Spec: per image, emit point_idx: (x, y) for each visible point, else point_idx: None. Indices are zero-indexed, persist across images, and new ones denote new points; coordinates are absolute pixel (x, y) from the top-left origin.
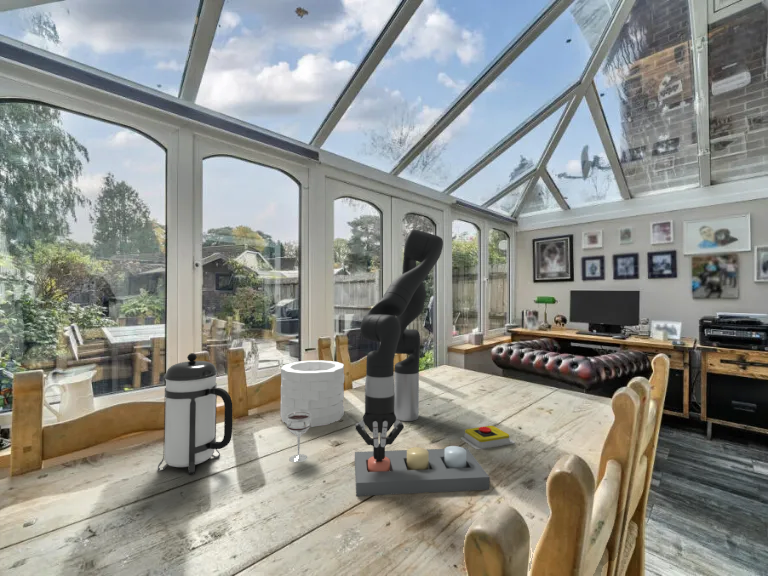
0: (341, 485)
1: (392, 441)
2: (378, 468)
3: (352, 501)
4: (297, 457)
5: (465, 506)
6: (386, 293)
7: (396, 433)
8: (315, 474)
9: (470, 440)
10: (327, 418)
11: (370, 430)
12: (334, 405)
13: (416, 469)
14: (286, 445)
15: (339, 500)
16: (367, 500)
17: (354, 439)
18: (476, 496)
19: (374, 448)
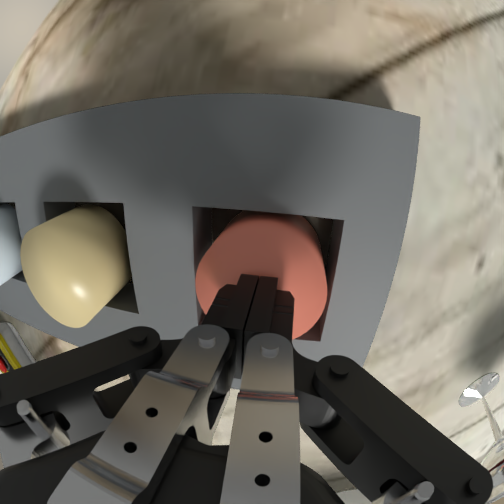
0: (439, 220)
1: (117, 338)
2: (274, 227)
3: (413, 88)
4: (486, 389)
5: (36, 58)
6: None
7: (51, 372)
8: (486, 310)
9: (25, 357)
10: (346, 501)
11: (325, 483)
12: None
13: (90, 211)
14: (468, 432)
15: (458, 113)
16: (351, 76)
17: (303, 457)
18: (9, 110)
19: (286, 338)
